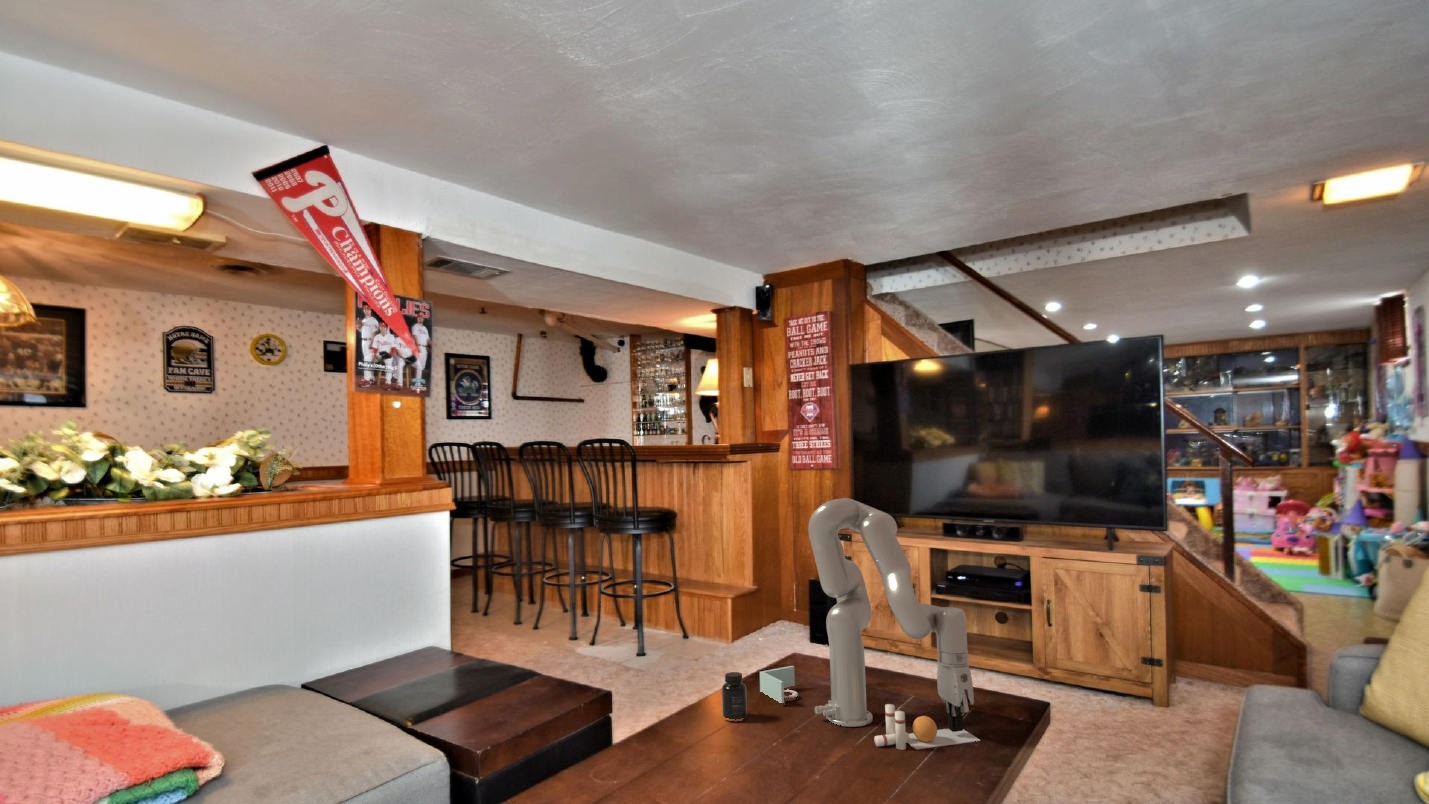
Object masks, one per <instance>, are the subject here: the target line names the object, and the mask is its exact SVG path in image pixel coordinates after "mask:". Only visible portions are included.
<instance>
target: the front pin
mask: <svg viewBox="0 0 1429 804" xmlns="http://www.w3.org/2000/svg"><path fill="white" fill-rule="evenodd" d="M905 732H906V744H908V743H909V742H910V737H909V734H910V733H908V732H907V731H905ZM873 739H874V744H875V746H876V747H885V746H893V745H896V734H888V735H886V734H881V735H875V736H874V738H873Z"/></svg>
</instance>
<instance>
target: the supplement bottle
mask: <svg viewBox="0 0 1429 804" xmlns="http://www.w3.org/2000/svg"><path fill="white" fill-rule="evenodd" d="M724 682H725V683H723V685H722V687H721V699H722V700H721V703H722V704H721V705H722V717H723V716H724V717H725V718H729V719H735V720H736V719H741V718H745V717H746V716H747V717H748V705H747V704H748V703H747V686H746V684H745V683H743V673H741V672H737V671H731V672H727V673H725V675H724Z"/></svg>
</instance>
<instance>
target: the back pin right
mask: <svg viewBox="0 0 1429 804" xmlns="http://www.w3.org/2000/svg"><path fill="white" fill-rule="evenodd" d="M905 713H906V712H905V711H903V710H895V731H896V744H895V748H896V749H897V750H901V751H904V750H906V749H907V743H906V732H907V731H906V714H905Z"/></svg>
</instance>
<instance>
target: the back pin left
mask: <svg viewBox="0 0 1429 804" xmlns="http://www.w3.org/2000/svg"><path fill="white" fill-rule="evenodd" d="M884 710H885V713H884V714H885V731H886V732H885V735H888V734H896V731H895V711H896V706H895V705H894V704H891V703H887V704H885V705H884Z"/></svg>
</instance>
